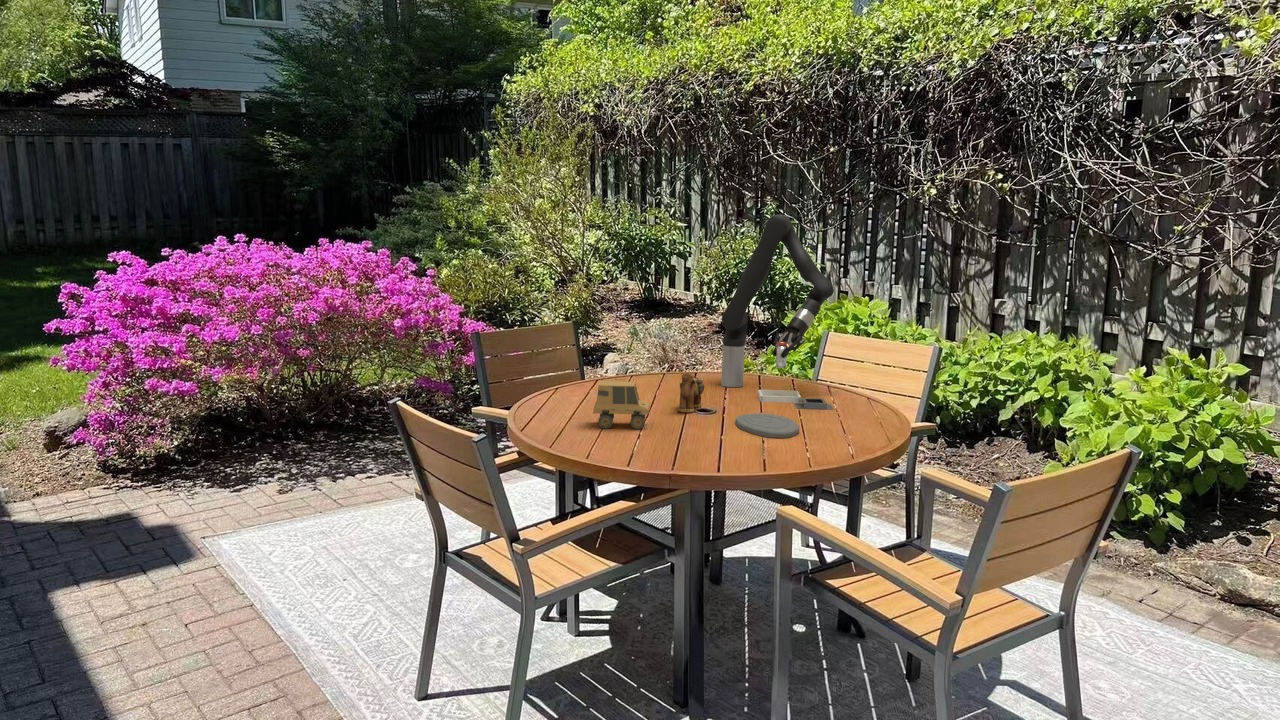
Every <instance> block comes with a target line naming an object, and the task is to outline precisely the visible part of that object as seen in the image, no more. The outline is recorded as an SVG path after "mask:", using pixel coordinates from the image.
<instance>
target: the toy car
mask: <svg viewBox="0 0 1280 720" xmlns="http://www.w3.org/2000/svg"><path fill="white" fill-rule="evenodd" d="M593 414H599V418H598V425H599V427H600V428H602V429H603V430H604V429H605V430H606V429H610V428H611V427H612V426H613V423H614V418H615V415H631V416H630V417H631V419H630V426H631V428H632V429H634V430H642V429H643V428H644V426H645V425H646V424H645V423H646V421H645V420H646V416H647V415H648V416H649V415H650V403H649V402H647V401H643V400H640V396H639V392H638V389H637V383H636V381H618V380H617V381H616V380H615V381H613V380H612V381H611V380H610V381H609V380H607V381H606V380H600V381H599V383H598V387H597V395H596V401H595V403H594V406H593Z"/></svg>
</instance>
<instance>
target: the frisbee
mask: <svg viewBox="0 0 1280 720" xmlns="http://www.w3.org/2000/svg"><path fill="white" fill-rule="evenodd" d="M735 424H736V427H737V428H739V429H740V430H742V431H744V432H746V433H749V434H752V435H756V436H759V437H761V438H762V437H763V438H767V439H768V438H769V439H788V438H793V437H796V436H797V435H798V434H799V432H800V426H799V425H798V423H797V422H796V421H794V420H793V419H790V418H789V417H785V416H782V415H778V414H772V413H760V412H759V413H756V412H755V413H746V414H741V415H738V416H736V418H735Z"/></svg>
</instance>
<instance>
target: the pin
mask: <svg viewBox="0 0 1280 720" xmlns="http://www.w3.org/2000/svg"><path fill="white" fill-rule="evenodd" d="M786 346H787V342H786V341H777V349H776V357H775V368H776V369H787V358H788V357H787V356H788V355H787V356H786V357H785V358H782V357H781V356H780V355H781V353H782V352H783V350H784V349H785V348H786Z"/></svg>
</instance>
